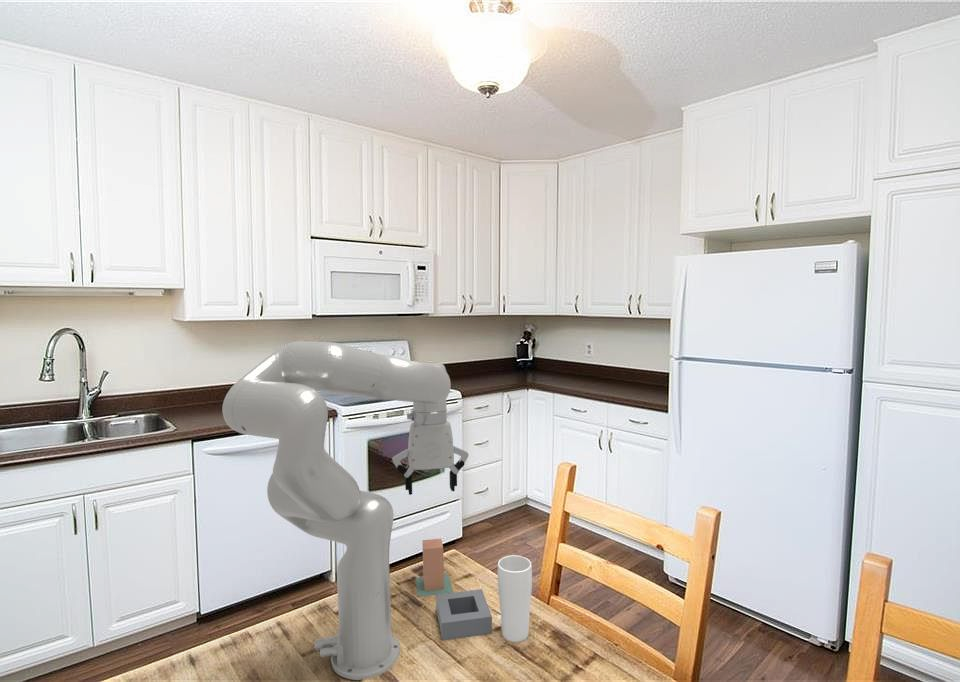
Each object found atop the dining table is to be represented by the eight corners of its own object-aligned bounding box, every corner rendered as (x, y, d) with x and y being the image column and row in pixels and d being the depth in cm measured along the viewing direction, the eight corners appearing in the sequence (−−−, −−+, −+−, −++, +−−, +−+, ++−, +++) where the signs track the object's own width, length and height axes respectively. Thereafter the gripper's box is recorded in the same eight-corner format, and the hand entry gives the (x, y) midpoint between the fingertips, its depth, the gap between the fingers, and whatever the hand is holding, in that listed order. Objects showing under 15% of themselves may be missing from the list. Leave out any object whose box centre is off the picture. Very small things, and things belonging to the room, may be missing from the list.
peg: (424, 591, 119) (423, 549, 118) (423, 581, 123) (422, 540, 122) (444, 589, 120) (443, 547, 119) (441, 579, 124) (441, 538, 123)
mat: (417, 598, 117) (417, 596, 117) (415, 579, 125) (415, 577, 125) (453, 594, 118) (453, 592, 118) (448, 576, 126) (448, 574, 126)
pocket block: (442, 642, 102) (441, 623, 102) (436, 612, 112) (436, 594, 111) (492, 635, 104) (491, 616, 103) (482, 606, 114) (481, 589, 113)
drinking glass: (530, 649, 100) (530, 573, 98) (495, 644, 101) (494, 570, 100) (533, 627, 106) (533, 556, 105) (501, 623, 108) (500, 553, 106)
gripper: (391, 423, 113) (393, 500, 114) (470, 419, 116) (471, 493, 117) (390, 415, 120) (392, 488, 121) (464, 412, 123) (465, 482, 125)
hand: (431, 490), depth 119 cm, fingers open, 9 cm apart
